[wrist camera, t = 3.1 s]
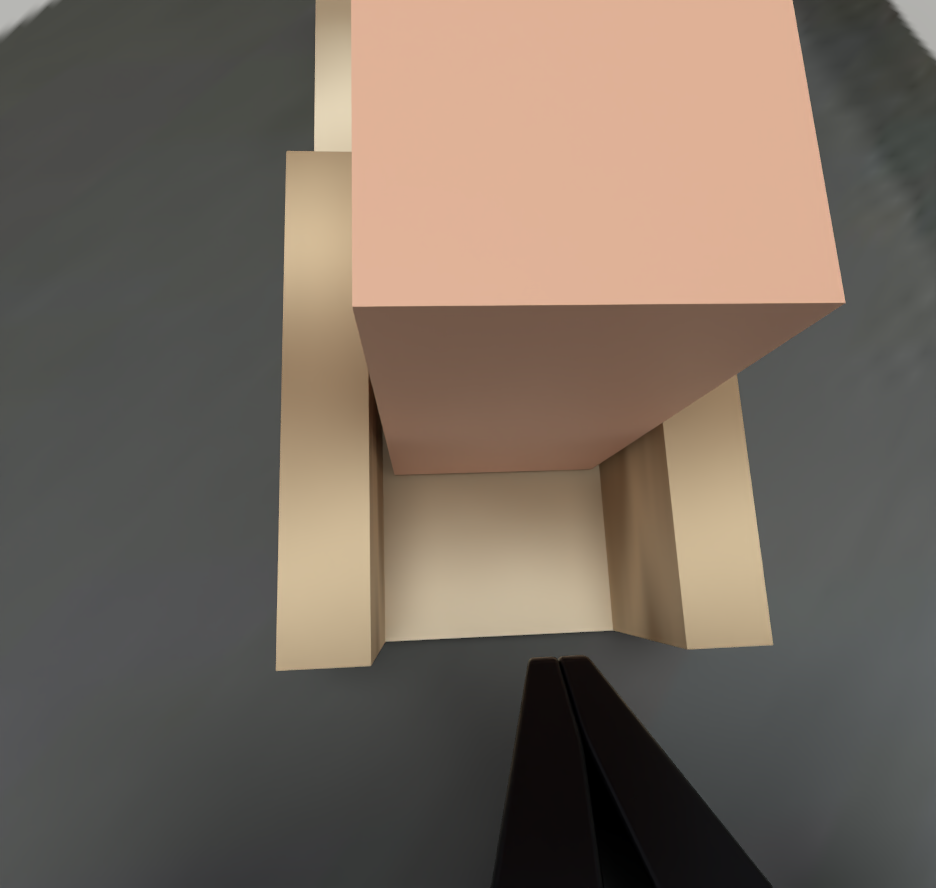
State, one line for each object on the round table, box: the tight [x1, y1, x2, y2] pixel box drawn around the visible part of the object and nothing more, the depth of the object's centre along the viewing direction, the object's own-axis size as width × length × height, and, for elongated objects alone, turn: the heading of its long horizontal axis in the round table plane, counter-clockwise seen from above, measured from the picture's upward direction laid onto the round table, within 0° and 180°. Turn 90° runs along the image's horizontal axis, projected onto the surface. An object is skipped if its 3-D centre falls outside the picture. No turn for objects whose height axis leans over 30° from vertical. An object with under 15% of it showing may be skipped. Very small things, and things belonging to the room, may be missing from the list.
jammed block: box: [351, 0, 845, 475], centre depth 12 cm, size 6×5×10 cm
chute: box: [276, 0, 773, 671], centre depth 16 cm, size 19×9×6 cm, turn 2°
